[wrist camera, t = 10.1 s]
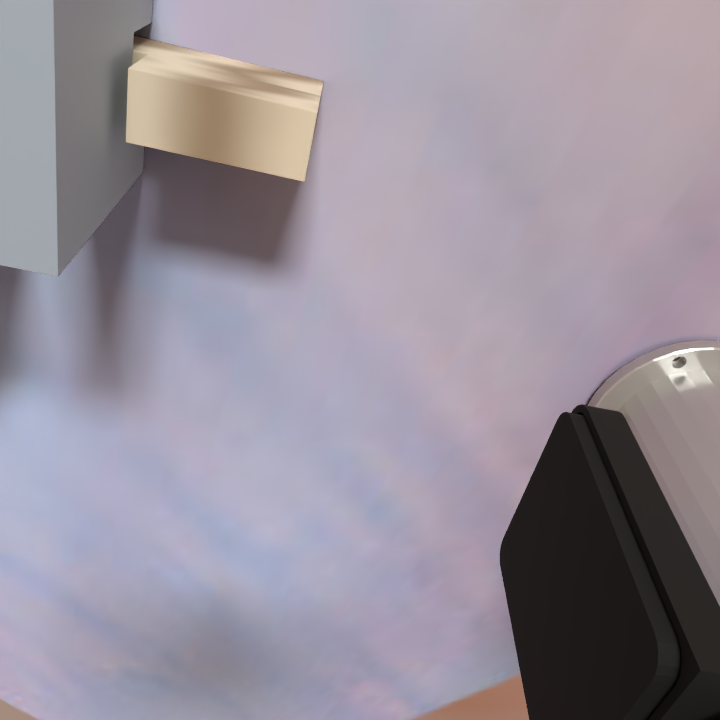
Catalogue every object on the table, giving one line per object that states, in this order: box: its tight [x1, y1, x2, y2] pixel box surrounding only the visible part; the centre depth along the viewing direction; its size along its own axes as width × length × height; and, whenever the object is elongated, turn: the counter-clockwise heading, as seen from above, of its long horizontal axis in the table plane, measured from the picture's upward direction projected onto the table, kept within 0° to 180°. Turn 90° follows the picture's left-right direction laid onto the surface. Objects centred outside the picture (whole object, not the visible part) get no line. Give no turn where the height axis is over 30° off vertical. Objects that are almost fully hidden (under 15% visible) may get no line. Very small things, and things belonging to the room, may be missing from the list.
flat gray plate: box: [0, 0, 153, 277], centre depth 27 cm, size 10×3×12 cm, turn 167°
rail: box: [126, 36, 324, 181], centre depth 30 cm, size 20×3×6 cm, turn 77°
